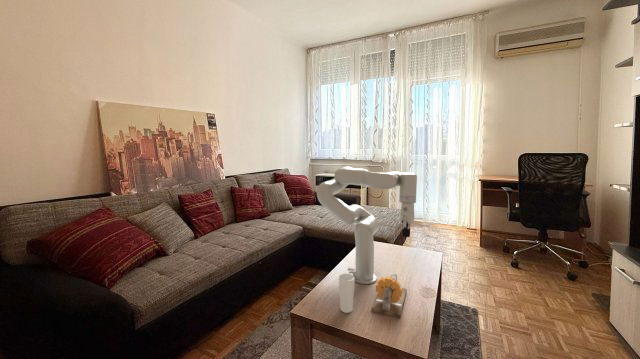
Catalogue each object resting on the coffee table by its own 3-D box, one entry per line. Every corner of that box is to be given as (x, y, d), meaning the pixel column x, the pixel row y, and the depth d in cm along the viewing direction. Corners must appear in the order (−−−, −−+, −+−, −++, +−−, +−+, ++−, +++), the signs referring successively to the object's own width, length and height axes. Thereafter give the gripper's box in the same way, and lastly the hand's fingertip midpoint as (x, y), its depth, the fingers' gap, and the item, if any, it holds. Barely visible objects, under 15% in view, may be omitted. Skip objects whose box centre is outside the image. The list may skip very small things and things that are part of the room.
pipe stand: (371, 311, 118) (371, 291, 117) (381, 286, 138) (381, 269, 137) (400, 318, 114) (400, 297, 112) (406, 291, 134) (407, 273, 132)
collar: (375, 300, 123) (375, 276, 122) (376, 297, 125) (376, 274, 124) (400, 305, 119) (401, 281, 117) (401, 303, 121) (402, 279, 119)
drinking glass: (344, 303, 124) (344, 271, 122) (357, 309, 120) (357, 276, 118) (335, 310, 119) (335, 277, 117) (348, 316, 115) (348, 282, 113)
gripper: (413, 202, 123) (411, 242, 125) (418, 196, 136) (416, 232, 138) (396, 201, 126) (394, 240, 129) (402, 195, 139) (401, 230, 142)
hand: (406, 236), depth 134 cm, fingers closed
